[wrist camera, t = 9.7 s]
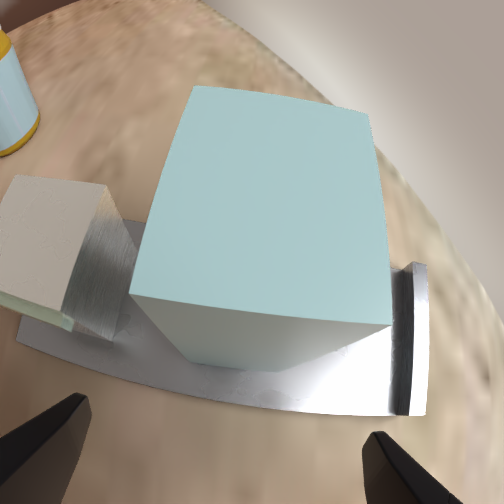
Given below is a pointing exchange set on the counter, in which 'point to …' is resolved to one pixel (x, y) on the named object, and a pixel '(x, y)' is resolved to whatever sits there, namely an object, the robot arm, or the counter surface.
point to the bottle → (14, 101)
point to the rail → (149, 335)
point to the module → (265, 233)
